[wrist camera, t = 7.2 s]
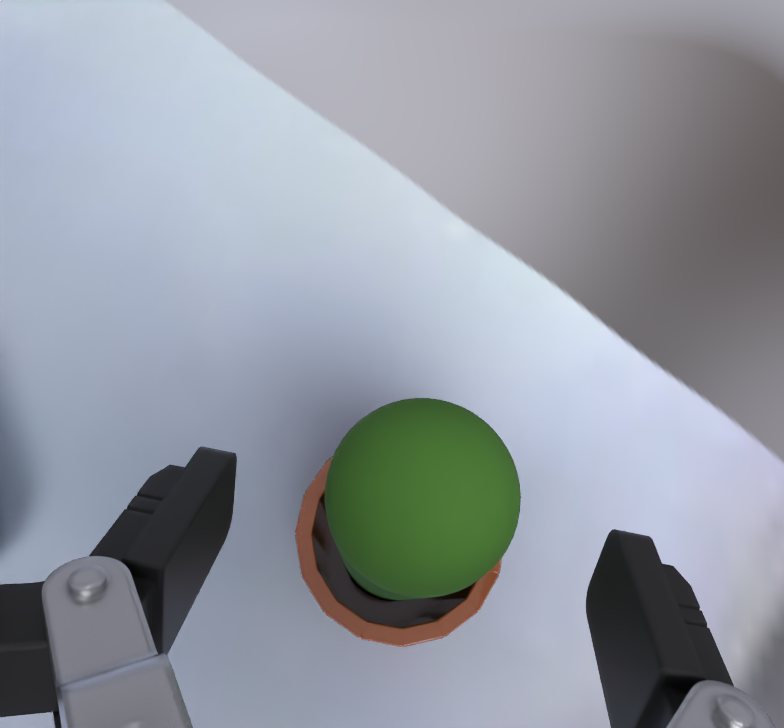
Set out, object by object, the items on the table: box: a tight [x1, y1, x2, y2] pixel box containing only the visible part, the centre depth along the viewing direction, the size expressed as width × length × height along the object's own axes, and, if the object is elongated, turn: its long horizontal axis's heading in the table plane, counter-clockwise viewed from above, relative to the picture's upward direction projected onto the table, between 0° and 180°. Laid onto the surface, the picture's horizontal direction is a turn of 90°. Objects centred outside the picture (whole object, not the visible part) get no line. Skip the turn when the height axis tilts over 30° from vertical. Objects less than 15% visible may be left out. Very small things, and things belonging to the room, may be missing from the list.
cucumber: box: [325, 398, 521, 601], centre depth 18 cm, size 4×4×15 cm
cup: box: [295, 456, 502, 647], centre depth 23 cm, size 6×6×6 cm
